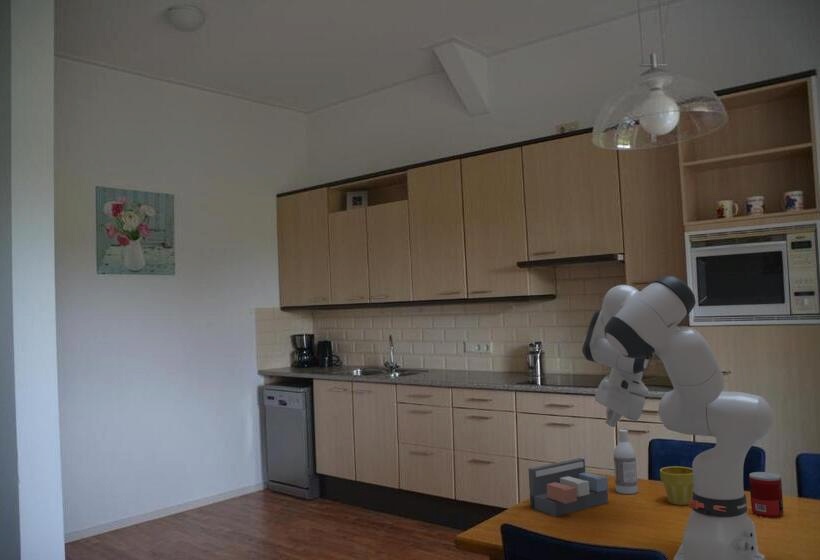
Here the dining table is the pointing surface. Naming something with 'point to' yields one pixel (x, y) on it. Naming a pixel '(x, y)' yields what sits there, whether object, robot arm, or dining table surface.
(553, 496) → the terracotta key
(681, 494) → the plant pot
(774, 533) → the dining table surface
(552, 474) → the console
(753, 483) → the canned food
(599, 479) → the slate-blue key
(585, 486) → the ivory key
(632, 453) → the bath foam
